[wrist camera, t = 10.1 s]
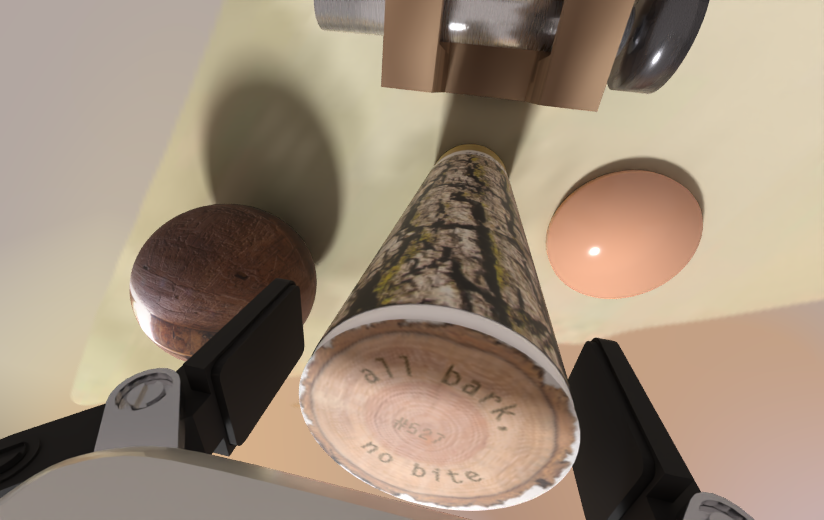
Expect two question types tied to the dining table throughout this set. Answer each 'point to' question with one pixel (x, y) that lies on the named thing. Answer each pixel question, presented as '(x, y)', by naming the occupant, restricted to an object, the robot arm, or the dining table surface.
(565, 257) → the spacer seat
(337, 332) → the paper tube
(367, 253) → the dining table surface
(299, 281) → the wooden sphere
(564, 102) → the bearing housing
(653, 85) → the shaft
